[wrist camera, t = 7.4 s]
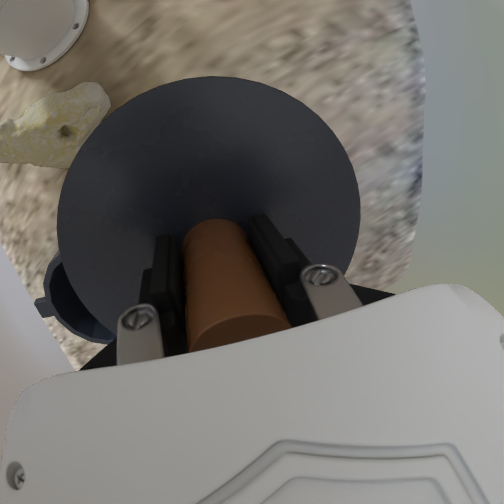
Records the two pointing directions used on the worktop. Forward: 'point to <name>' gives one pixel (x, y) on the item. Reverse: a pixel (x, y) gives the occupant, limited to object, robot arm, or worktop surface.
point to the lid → (205, 202)
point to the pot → (69, 306)
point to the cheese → (54, 127)
